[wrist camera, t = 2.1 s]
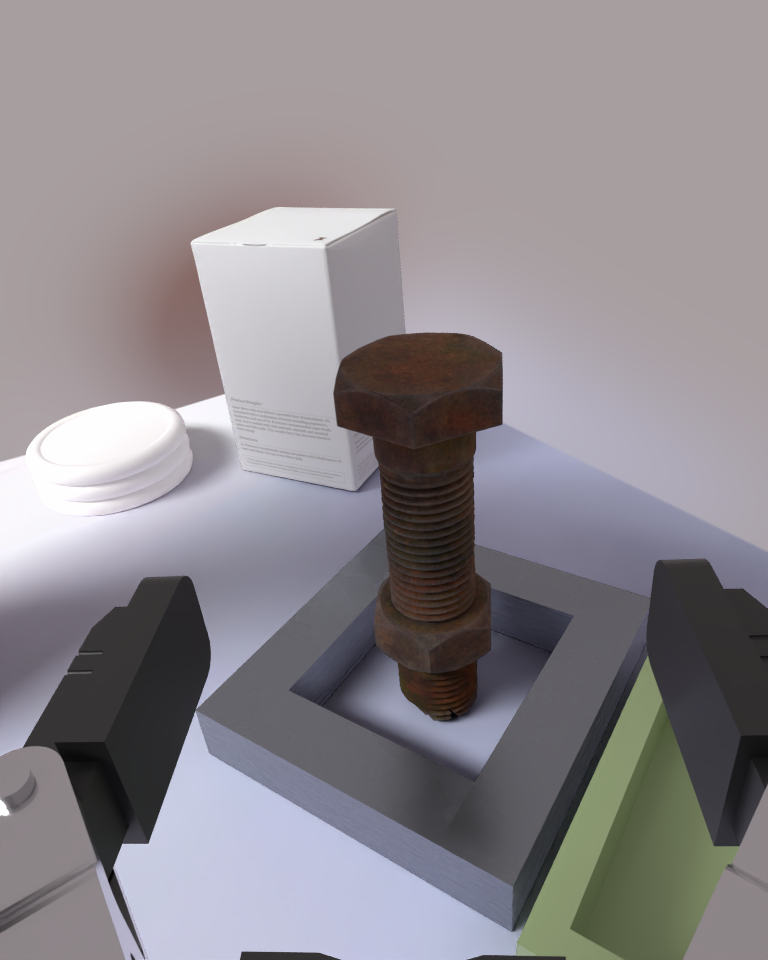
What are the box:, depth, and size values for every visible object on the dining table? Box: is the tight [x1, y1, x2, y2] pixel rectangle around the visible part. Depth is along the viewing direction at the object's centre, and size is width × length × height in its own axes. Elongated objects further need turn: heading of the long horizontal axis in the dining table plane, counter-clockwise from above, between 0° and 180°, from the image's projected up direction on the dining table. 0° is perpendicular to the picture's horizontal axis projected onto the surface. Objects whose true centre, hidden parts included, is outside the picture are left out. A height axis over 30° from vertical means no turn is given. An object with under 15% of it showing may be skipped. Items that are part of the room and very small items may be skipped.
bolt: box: [333, 333, 503, 720], centre depth 26 cm, size 6×5×15 cm
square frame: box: [196, 528, 651, 932], centre depth 30 cm, size 13×14×2 cm
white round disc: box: [26, 401, 193, 516], centre depth 48 cm, size 10×10×4 cm
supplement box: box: [191, 207, 406, 491], centre depth 45 cm, size 9×9×15 cm
